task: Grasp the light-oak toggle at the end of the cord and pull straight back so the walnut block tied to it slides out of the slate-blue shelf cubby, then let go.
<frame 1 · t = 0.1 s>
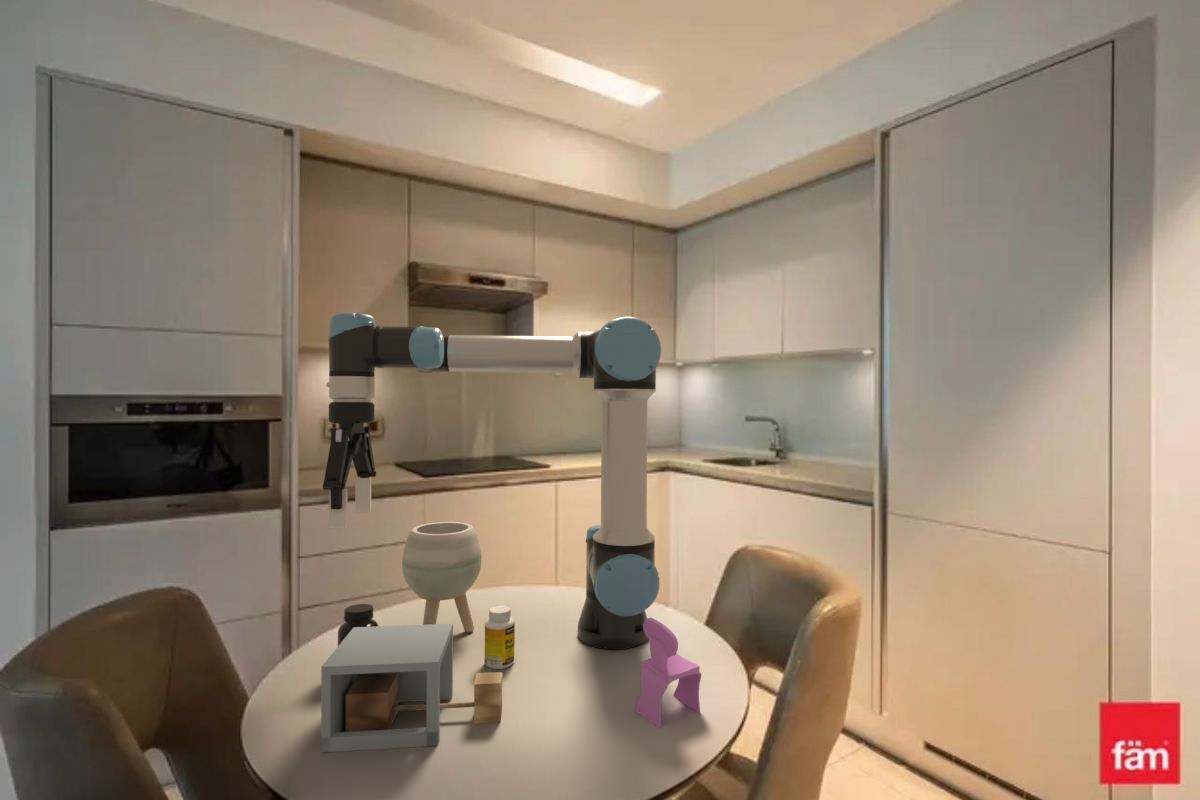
hand: (351, 519, 102), 28 cm above the table, fingers open, 13 cm apart
supplement bottle 2: (499, 664, 108), on the table
tethered block: (372, 722, 88), resting in shelf cubby
supplement bottle: (358, 675, 103), on the table
shelf cubby: (392, 721, 88), on the table
toy chair: (668, 711, 92), on the table
planter: (442, 634, 121), on the table
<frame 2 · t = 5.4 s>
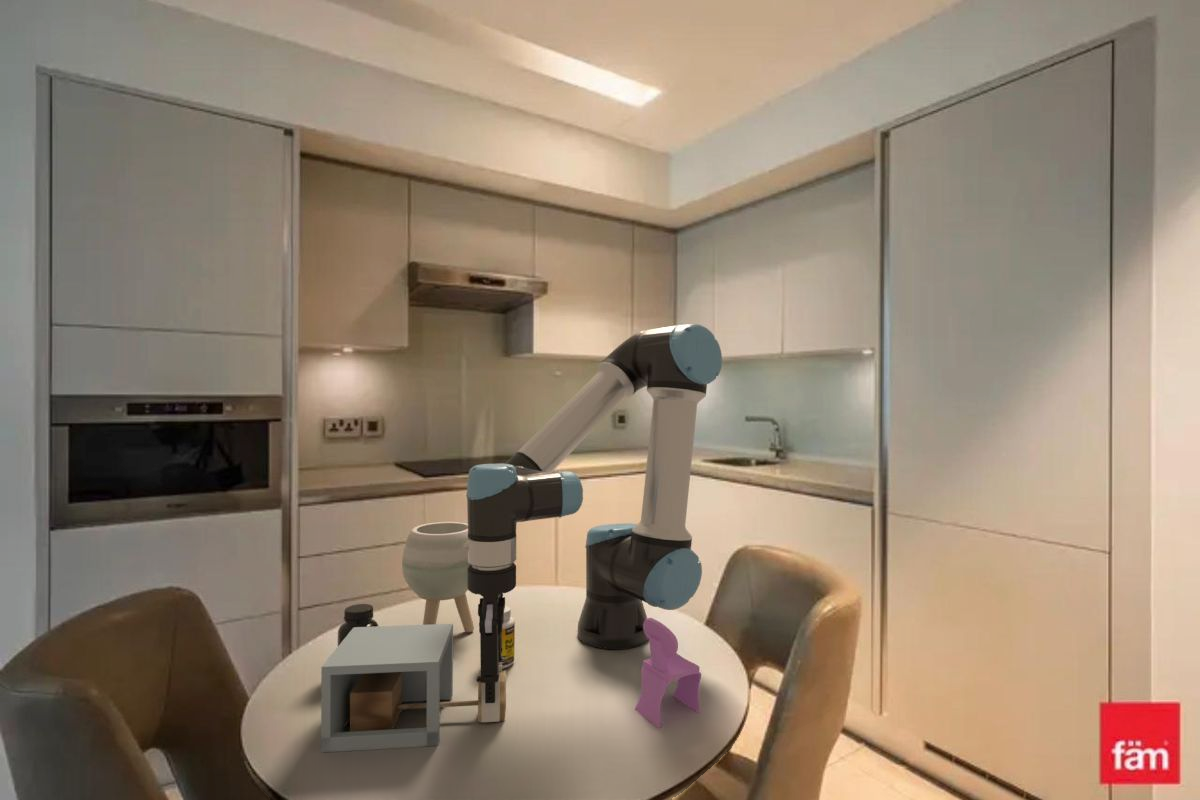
hand: (491, 712, 90), 0 cm above the table, fingers closed on tethered block, 3 cm apart
tethered block: (376, 721, 88), resting in shelf cubby, touching gripper
everything else where it was.
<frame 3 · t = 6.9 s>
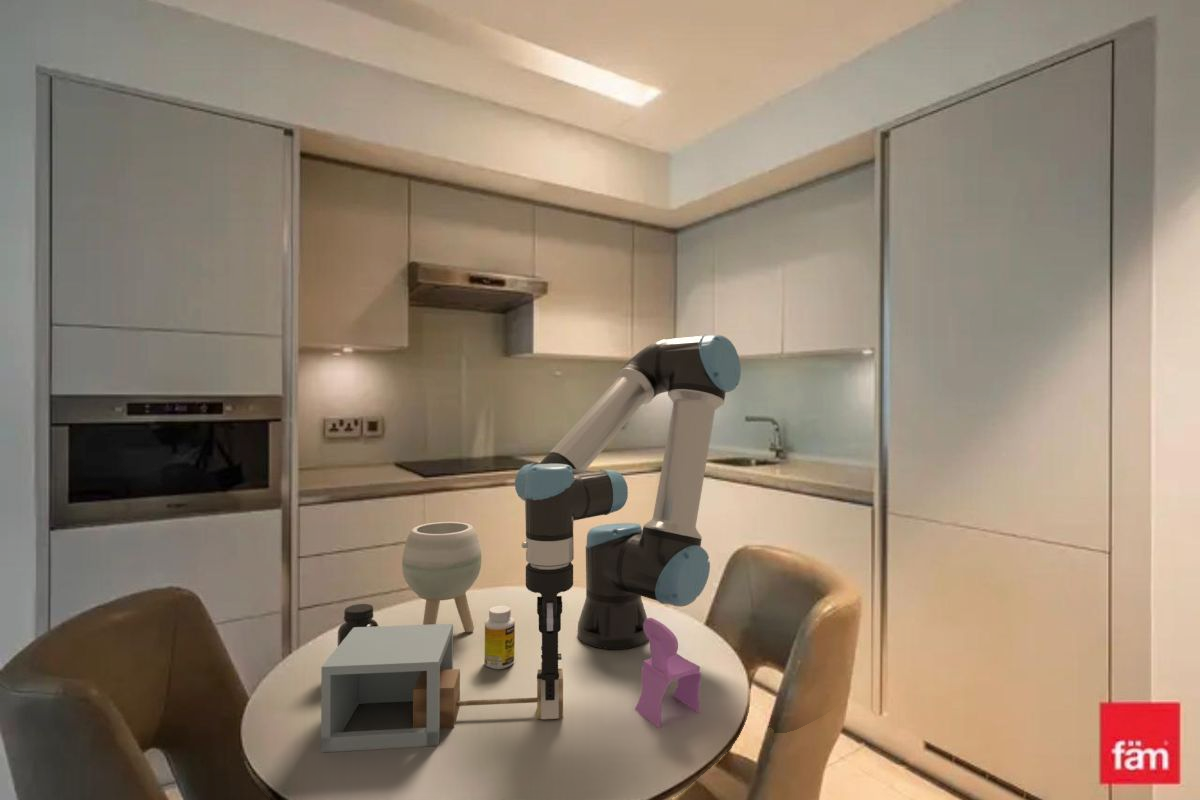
hand: (549, 709, 91), 0 cm above the table, fingers closed on tethered block, 3 cm apart
tethered block: (437, 717, 89), resting in shelf cubby, touching gripper
everything else where it was.
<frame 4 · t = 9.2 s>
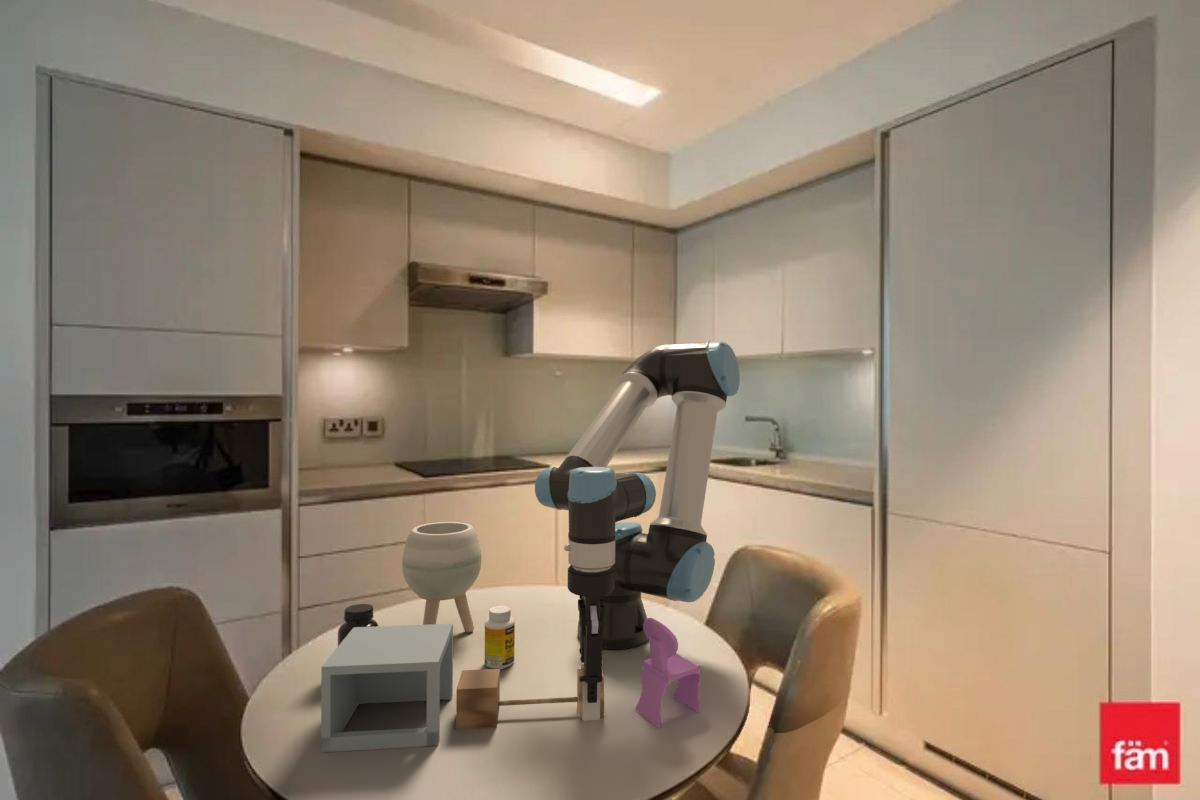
hand: (589, 712, 91), 0 cm above the table, fingers closed on tethered block, 4 cm apart
tethered block: (478, 717, 89), on the table, touching gripper
everything else where it was.
when the fingers open (0 cm above the table, at t = 10.2 s): tethered block stays where it is, on the table.
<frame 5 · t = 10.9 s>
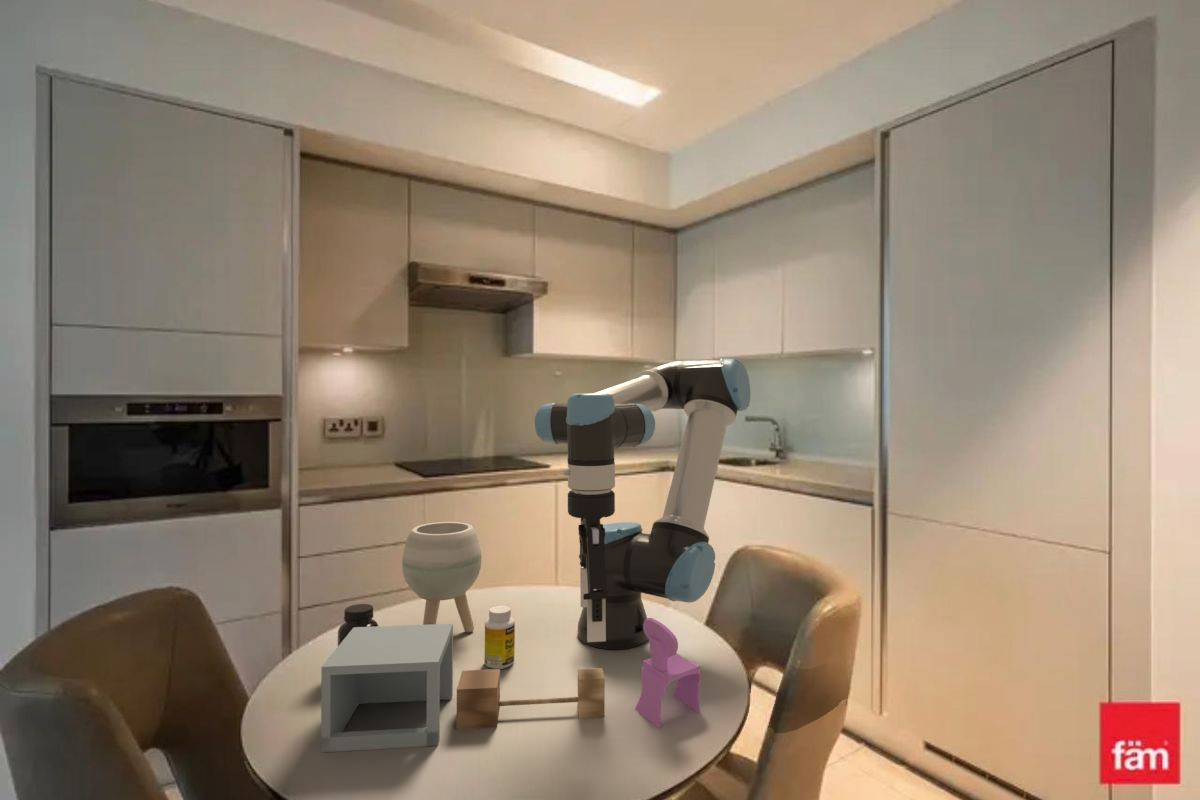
hand: (592, 622, 92), 14 cm above the table, fingers open, 13 cm apart
tethered block: (479, 717, 89), on the table
everything else where it was.
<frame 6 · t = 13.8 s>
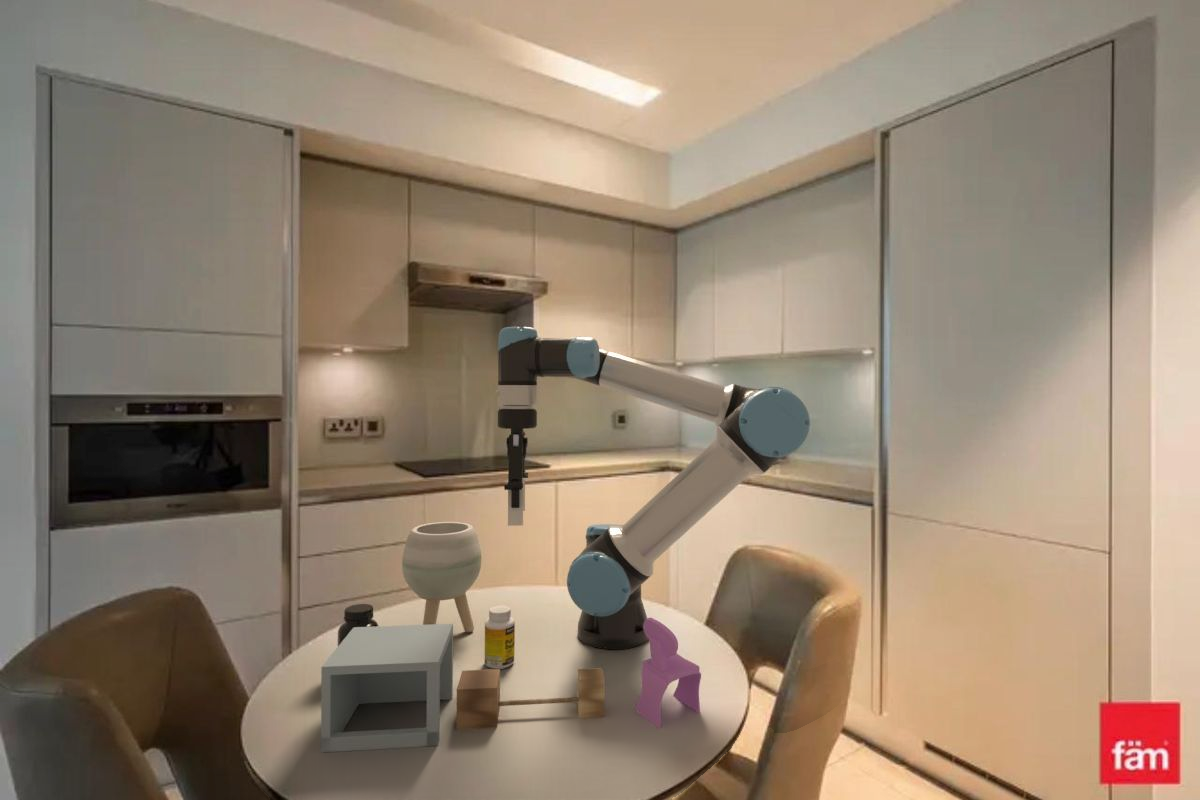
hand: (516, 517, 111), 27 cm above the table, fingers open, 13 cm apart
nothing on the table moved.
at the end: tethered block inside the target area (4.2 cm from its centre), on the table; tethered block tilted 0°; the gripper is holding nothing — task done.
